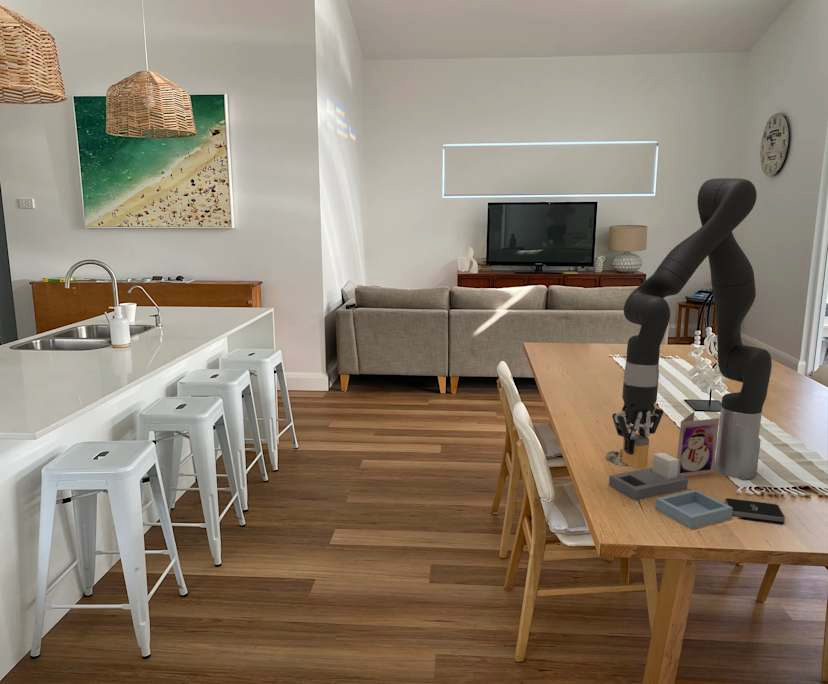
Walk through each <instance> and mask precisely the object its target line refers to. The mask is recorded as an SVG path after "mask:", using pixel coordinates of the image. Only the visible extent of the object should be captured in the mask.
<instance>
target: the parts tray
mask: <svg viewBox="0 0 828 684" xmlns="http://www.w3.org/2000/svg"><path fill="white" fill-rule="evenodd" d="M654 506H655V507H654V509H655V510H656V511H658V512H660V513H662V514H663V515H666V516H667V517H669V518H670V519H672V520H675V522H678V523H679V524H681V525H683V526H684V527H686V528H687V529H688V528H689V529H690V530H689V531H694V530H695V531H696V530H699V529H704V527H705V528H707V527H708V526H709V527H712V525H713V526H715V525H716V524H717V525H719V524H720V523H721V524H724V522H725V523H726V522H730V521H732V517H733V516H732V510H733V507H731V506H729V505H726V504H724V502H723V501H720V500H718V499H716V498H714V497H712V496H709V495H708V494H706V493H704V492H702V491H700V490H697V489H692V490H691V489H690V490H688V491H683V492H679V493H675V494H673V493H672V494H670V495H665V496H661V497H657V498H655V505H654ZM726 520H727V521H726ZM691 529H692V530H691Z"/></svg>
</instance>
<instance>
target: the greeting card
mask: <svg viewBox="0 0 828 684" xmlns="http://www.w3.org/2000/svg"><path fill="white" fill-rule="evenodd" d="M719 422H720V417H719V418H707V419H699V420H698V419H697V420H695V411H693V412H692V413H690V414H689V415H688V416H686V417H685V418H684V419H683V420H681V421H680V426H679V428H680V430H679V437H678V445H677V446H678V447H677V458H676V459H679V461H678V472H677V474H678V475H680V476H682V477H688V476H689V477H691V476H698V475H705V474H713V473H714V471H715V469H714V467H715V458H716V449H717V440H718V431H719Z"/></svg>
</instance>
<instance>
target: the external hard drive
mask: <svg viewBox="0 0 828 684" xmlns="http://www.w3.org/2000/svg"><path fill="white" fill-rule="evenodd" d="M723 503H724V504H726V505H729V506H731V507H733V510H732V517H735V518H737V519H738V520H745V521H751V522H752V521H753V522H761V523H768V524H775V525H784V524H785V521H786V516H785V513H784V512H783V511H782V509H781V508H780V506H779V504H776V503H771V502H762V501H761V502H760V501H756V500H755V501H754V500H747V499H746V500H744V499H738V498H737V499H736V498H732V497H731V498H730V497H729V498H728V497H725V498H724V502H723Z"/></svg>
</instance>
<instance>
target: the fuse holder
mask: <svg viewBox="0 0 828 684" xmlns="http://www.w3.org/2000/svg"><path fill="white" fill-rule="evenodd" d="M652 467H653V466H652ZM652 467H647V468H642V469H635V470H631V471H627V472H622V473H621V472H620V473H617V474H611V475H609V478H608V486H609V487H611V488H612V489H614V490H615V491H617V492H619V493H621V494H622V495H625V496H627V497H629V498H630V499H632V500H634V501H639V500H644V499H650V498H654V497H657V496H658V497H659V496H663V495H668V494H673V493H677V492H681V491H686V490H688V484H689V479H688V478H686V477H685V476H680V475H678V474H677V478H674V479H669V480H667V479H665V478H663V477H661V476H659V475H657V474H655V473H653V472H652Z"/></svg>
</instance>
